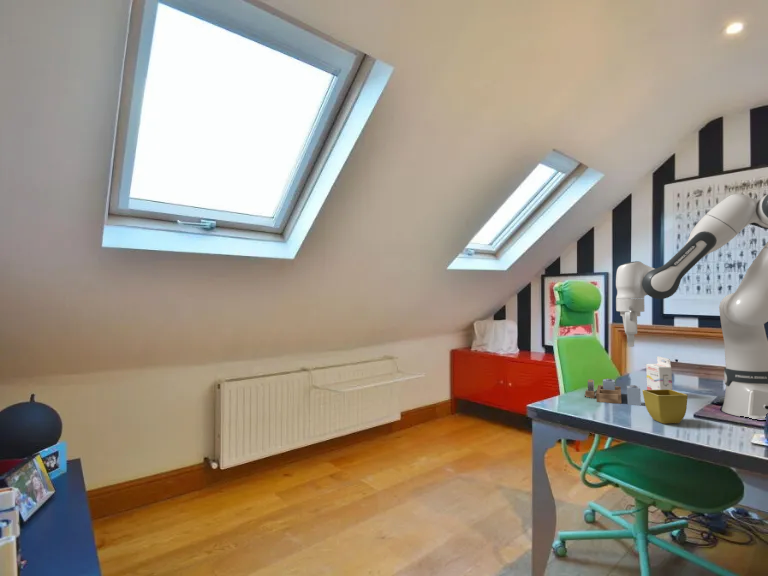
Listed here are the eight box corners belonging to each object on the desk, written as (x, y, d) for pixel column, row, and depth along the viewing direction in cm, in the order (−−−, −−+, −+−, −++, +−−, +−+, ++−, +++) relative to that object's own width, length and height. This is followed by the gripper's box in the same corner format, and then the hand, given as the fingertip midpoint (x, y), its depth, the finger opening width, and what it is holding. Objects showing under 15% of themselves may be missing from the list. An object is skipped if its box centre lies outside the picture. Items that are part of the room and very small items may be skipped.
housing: (621, 393, 168) (620, 386, 168) (621, 403, 153) (621, 395, 153) (586, 391, 174) (586, 384, 174) (583, 400, 159) (583, 392, 159)
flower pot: (642, 418, 134) (641, 389, 134) (671, 417, 134) (669, 388, 134) (660, 426, 125) (658, 395, 126) (690, 425, 125) (688, 394, 125)
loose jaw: (640, 403, 153) (639, 385, 153) (640, 405, 149) (640, 387, 150) (627, 402, 155) (626, 384, 155) (627, 404, 151) (627, 386, 151)
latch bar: (594, 391, 173) (593, 378, 173) (593, 394, 168) (593, 380, 168) (589, 391, 174) (588, 377, 174) (588, 394, 169) (587, 380, 169)
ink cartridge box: (646, 393, 168) (644, 356, 168) (659, 393, 168) (657, 355, 168) (660, 398, 159) (658, 359, 160) (673, 398, 159) (671, 358, 160)
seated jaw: (615, 395, 166) (614, 378, 167) (615, 397, 163) (614, 380, 163) (603, 394, 168) (603, 378, 168) (603, 396, 165) (602, 379, 165)
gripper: (641, 307, 142) (642, 348, 142) (639, 306, 160) (639, 343, 160) (620, 307, 146) (620, 347, 145) (620, 306, 163) (620, 342, 163)
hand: (630, 345), depth 153 cm, fingers open, 8 cm apart
